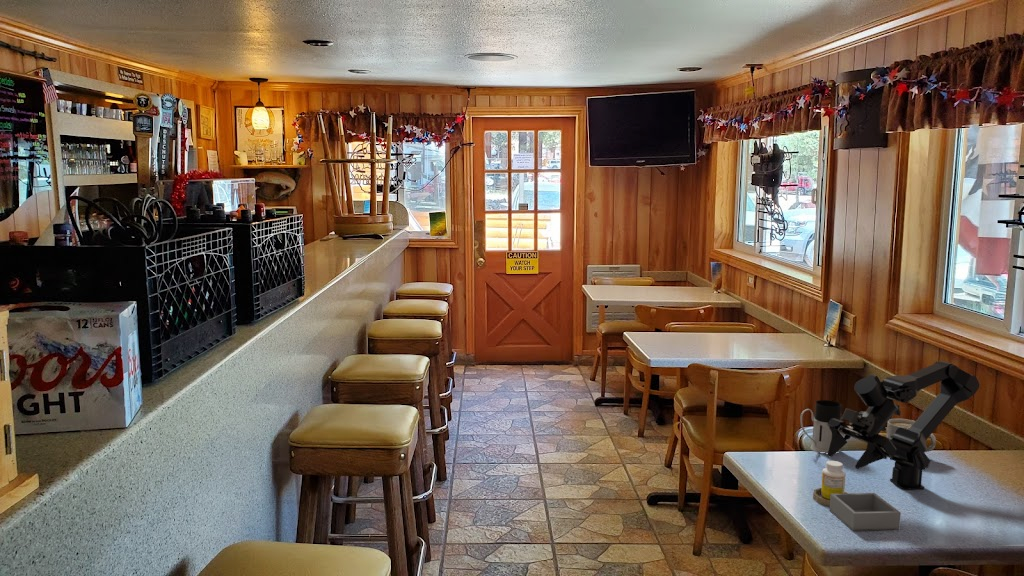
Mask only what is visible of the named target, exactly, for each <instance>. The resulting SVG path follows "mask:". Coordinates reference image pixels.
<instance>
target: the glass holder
mask: <svg viewBox="0 0 1024 576" xmlns="http://www.w3.org/2000/svg"><path fill="white" fill-rule="evenodd" d="M814 405H815V406H814V408H815V409H814V412H813V410H811V408H806V409H804V410H802V412H801V413H800V419H799V420H800V427H801V430H802V432H803V433H804V435H806V437H808V438H809V440H811V441H812V442H811V446H810V450H811V451H813V452H815V453H818V452H825V453H828V451H829V447H830V443H831V439H832V432H831V431H830V430H829V427H828V425H827V423H828V422H829V421H830V420H831V419H833V418H835V419H838V420H841V421H842V419H841V418H842V405H843V404H842V403H840V402H838V401H834V400H829V399H828V400H827V399H824V400H823V399H820V400H818V399H817V400H816V401H815V404H814ZM807 411H810V413H811V421H812V422H813V425H812V427H813V428H812V437H811V436H810V435H809V434H808V433H807V431H806V430H805V428H804V424H803V417H804V416H803V415H804V413H805V412H807ZM837 452H840V453H841V449H840V450H839V451H837Z"/></svg>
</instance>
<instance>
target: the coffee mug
mask: <svg viewBox="0 0 1024 576" xmlns="http://www.w3.org/2000/svg"><path fill="white" fill-rule="evenodd" d="M915 421H916V420H913V419H906V418H890V419H889V421H888V422H887V423H886V425H887V426H886V436H885V437H887V438H889V440H890V439H891V436H892V435H893V434H894V433H895V432H896V431H897V429H898V428H900V427H902V428H905V429H908V428H910V427H911V426H912V425H913V424H914V422H915ZM928 438H929V439H930V445H928V446H927V445H926V451H925V453H927V452H932V451H933V450H934V449H935V447H936V445H937V439H936V436H935V435H934V433H932V434H931V435H930V436H929V437H928Z"/></svg>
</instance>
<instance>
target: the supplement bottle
mask: <svg viewBox="0 0 1024 576" xmlns="http://www.w3.org/2000/svg"><path fill="white" fill-rule="evenodd" d="M843 465H844V464H843V463H842V462H840V461H836V460H827V461H826V462H825V468H823V469H822V472H821V473H822V474H821V475H822V476H821V488H822V489H821V494H820V497H822V498H824V499H827V500H830V496H831V494H844V492H845V487H846V486H845V485H846V472H845V471H844V470H843V468H844V467H843Z"/></svg>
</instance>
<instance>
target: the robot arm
mask: <svg viewBox="0 0 1024 576" xmlns="http://www.w3.org/2000/svg"><path fill="white" fill-rule="evenodd" d="M937 383H940V385H939V386H940V388H939V389H940V390H939V393H938V394H937V395H936V396H935V398H934V399H933V400H932V401H931V402H930V404H929V405H928V406H927V407H926V408H925V409H924V411H922V413H921V414H920V415H919V416H918V418H917V419H916V420H914V421H915V422H914V424H913V425H912V426H911V427H910V428H908V429H905V428H902V427H900V428H898V429H897V431H896V432H895V433H894V434H893V435H892V436H891V439H890V440H889V438H887V437H886V436H885V435H881V434H880V433H881V432H883V433H884V432H886V431H887V427H886V425H887V422H888V421H889V420H890V419H892V417H893V416H894V415H895V416H899V417H900V416H901V409H900V404H896V403H895V402H894V401H896V402H899V403H903V404H905V403H906V404H907V403H909V402H910V401H912V400H913V399H915V398H916V397H917V396H918V393H919V392H920V391H921V390H924V389H925V388H928V387H931V386H933V385H935V384H937ZM853 388H854V391H855V393H856V394H857V395H858V397H859V398H860V399H861V401H862V402H863V403H864V404H865V406H867V407H868V408H867V409H866V410H865V411H863V410H861V411H859V412H858V411H855V410H853V409H850V408H848V407H847V408H845V410H844V411H843V414H842V415H841V420H838V419H835V418H833V419H831V420H830V421H829V422H828V423H827V425H828V427H829V430H830V431H831V432H832V439H831V443H830V447H829V451H828V454H826V455H827V456H828V458H831V457H833V456H834V455H836V454H835V453H836V452H837V451H839V450H840V451H841V449H842V448H843V447H844V446H845V445H846V444H848V441H847V440H850V439H851V438H853V439H856V440H858V441H860V442H864V443H866V444H867V445H866V449H865V451H864V452H863V453H862V455H861V456H860V458H859V459H858V460H857V462H856V464H855V465H854V467H855V469H856V470H860V469H861V468H864V467H866V466H868V465H870V464H872V463H875V462H878V461H880V460H887V459H888V458H889V460H890V461H894V466H893V467H892V474H891V475H892V476H891V478H889V481H890V482H891V483H893V484H894V485H896V486H897V487H899V488H900V489H902V490H924V489H925V486H924V485H923V484H922V478H923V471H925V470H926V469H927V468H929V465H930V462H931V460H930V458H929V457H928V456H927V455H926V452H925V451H926V446H927V440H928V438H929V436H930V435H931V434H934V431H935V430H937V428H938V426H939V425H941V423H942V422H943V421H944V420H945V418H946V417H947V416H948V415H949V413H950V412H951V411H952V410H953V408H954V407H955V406H957V404H959V403H963V402H965V401H968V400H970V398H971V397H972V396H974V395H975V394H976V393H977V392H978V390H979V388H980V381H979V380H978V378H977V376H976V375H973V374H971V373H968V372H966V371H965V370H963V369H961V368H959V367H958V366H957V365H955V363H951V362H947V361H943V360H937V361H935V362H934V363H933V364H931V365H928V366H927V367H923V368H920V369H919V370H917V371H914V372H912V373H909V374H906V375H905V374H904V375H892V376H887V377H886V378H885V377H884V379H883V380H880V378H879V377H878V375H874V374H873V373H871V374H869V376H866V377H865V376H864V377H862V378H861V379H859V380H857V381H856V382H855V384H854V385H853ZM893 400H894V401H893ZM845 421H847V422H849V424H846V422H845ZM848 425H849V426H848ZM850 427H851V428H850Z"/></svg>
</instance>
